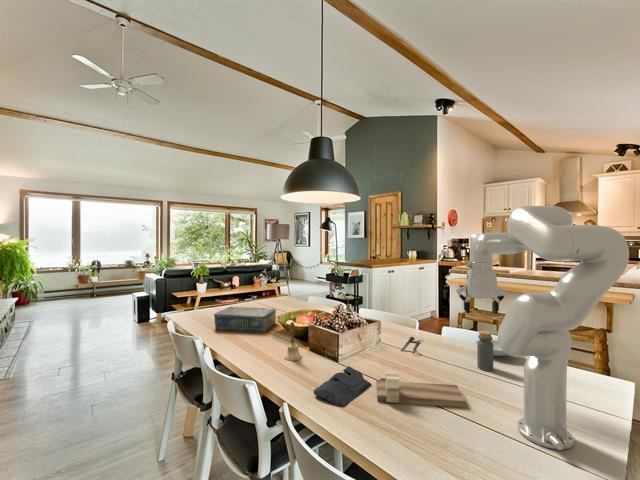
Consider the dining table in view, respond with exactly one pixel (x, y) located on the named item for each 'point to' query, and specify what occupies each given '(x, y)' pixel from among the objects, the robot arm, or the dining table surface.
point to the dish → (496, 349)
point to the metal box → (245, 319)
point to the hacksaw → (414, 347)
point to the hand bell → (292, 347)
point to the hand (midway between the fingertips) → (481, 312)
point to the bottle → (485, 351)
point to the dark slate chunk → (343, 387)
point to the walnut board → (424, 394)
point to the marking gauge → (392, 387)
